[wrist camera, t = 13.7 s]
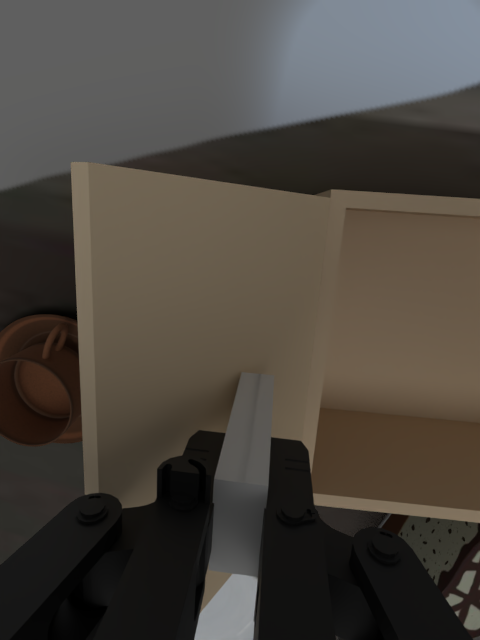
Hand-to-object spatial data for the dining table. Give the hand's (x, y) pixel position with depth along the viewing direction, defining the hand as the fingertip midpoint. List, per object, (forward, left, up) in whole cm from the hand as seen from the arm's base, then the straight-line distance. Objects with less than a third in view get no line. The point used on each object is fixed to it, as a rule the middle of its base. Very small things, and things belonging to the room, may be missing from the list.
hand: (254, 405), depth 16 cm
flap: (0, +1, 0) cm, 1 cm away
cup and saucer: (-8, +18, -19) cm, 27 cm away
